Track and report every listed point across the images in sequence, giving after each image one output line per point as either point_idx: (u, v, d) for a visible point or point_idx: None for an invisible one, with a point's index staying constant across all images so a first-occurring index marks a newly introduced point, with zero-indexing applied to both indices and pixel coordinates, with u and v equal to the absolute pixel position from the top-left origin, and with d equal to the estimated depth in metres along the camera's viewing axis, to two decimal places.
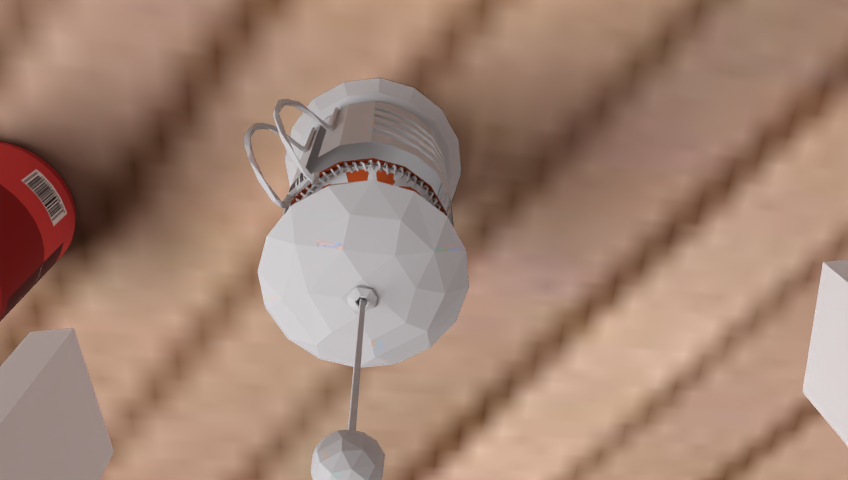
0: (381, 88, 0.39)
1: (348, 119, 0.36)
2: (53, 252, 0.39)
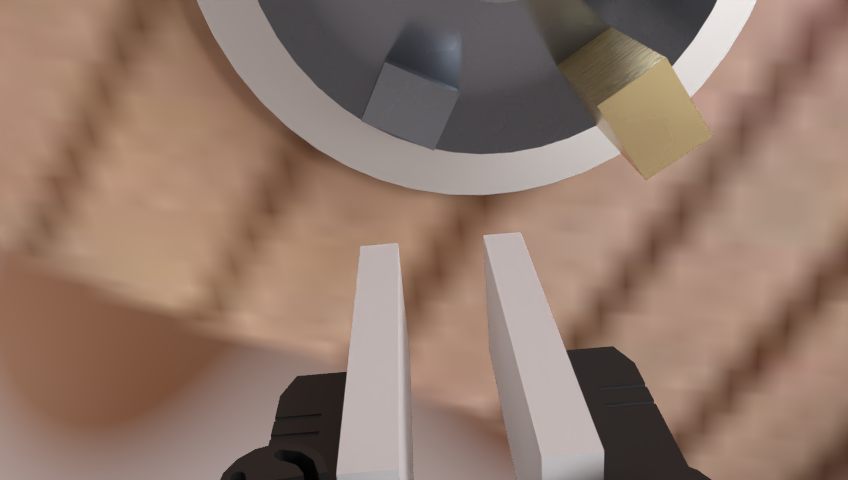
0: None
1: None
2: None
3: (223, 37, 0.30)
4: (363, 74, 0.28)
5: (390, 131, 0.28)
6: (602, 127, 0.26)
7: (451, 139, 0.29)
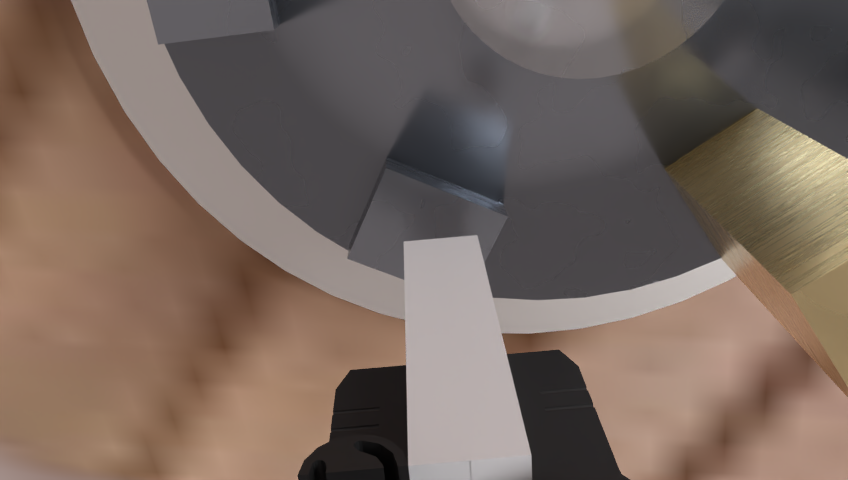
0: None
1: None
2: None
3: (139, 111, 0.20)
4: (351, 182, 0.17)
5: (394, 273, 0.17)
6: (752, 283, 0.16)
7: (491, 278, 0.18)
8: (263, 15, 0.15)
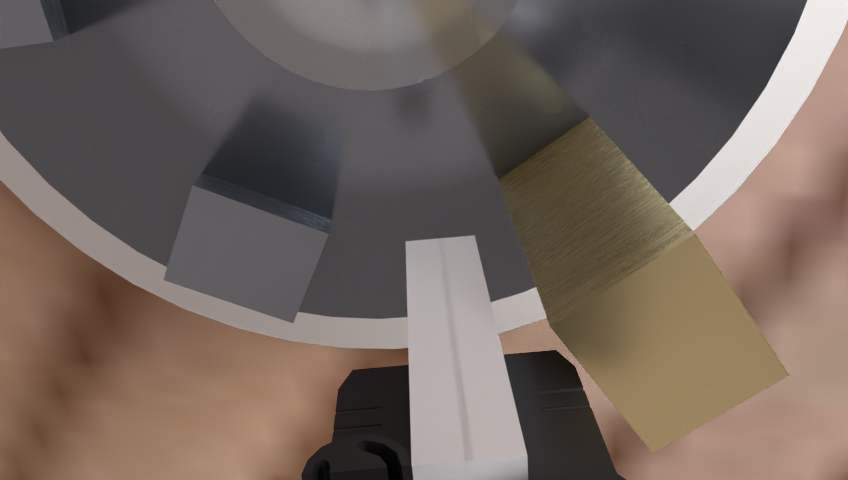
0: None
1: None
2: None
3: None
4: (167, 199, 0.16)
5: (216, 295, 0.16)
6: None
7: (327, 297, 0.17)
8: (39, 26, 0.14)
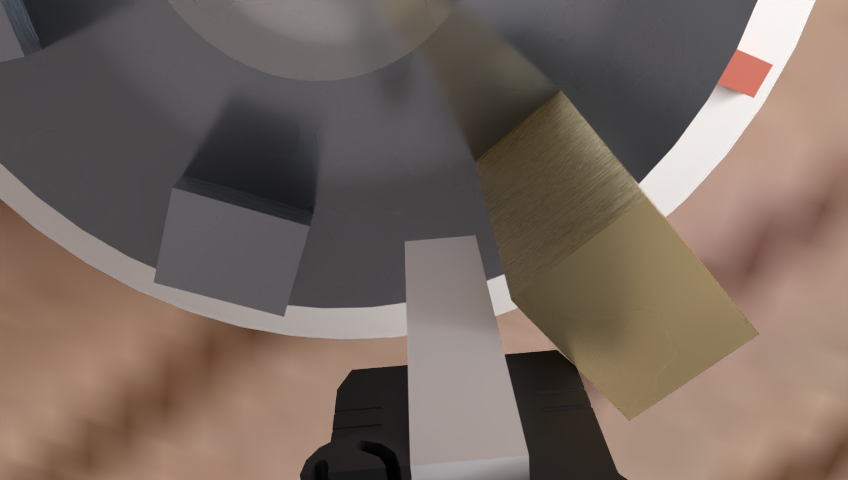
0: None
1: None
2: None
3: None
4: (152, 203, 0.17)
5: (206, 293, 0.17)
6: None
7: (317, 289, 0.18)
8: (9, 43, 0.14)
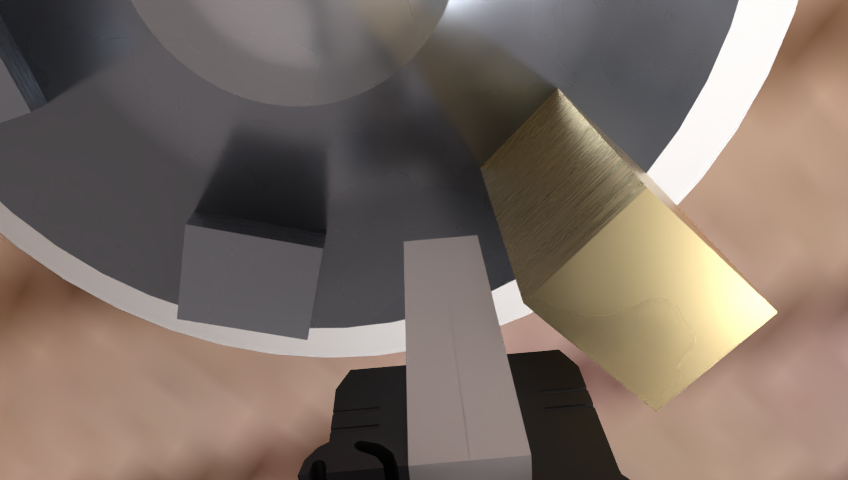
0: None
1: None
2: None
3: None
4: (168, 241, 0.17)
5: (229, 324, 0.17)
6: None
7: (337, 309, 0.18)
8: (15, 100, 0.15)
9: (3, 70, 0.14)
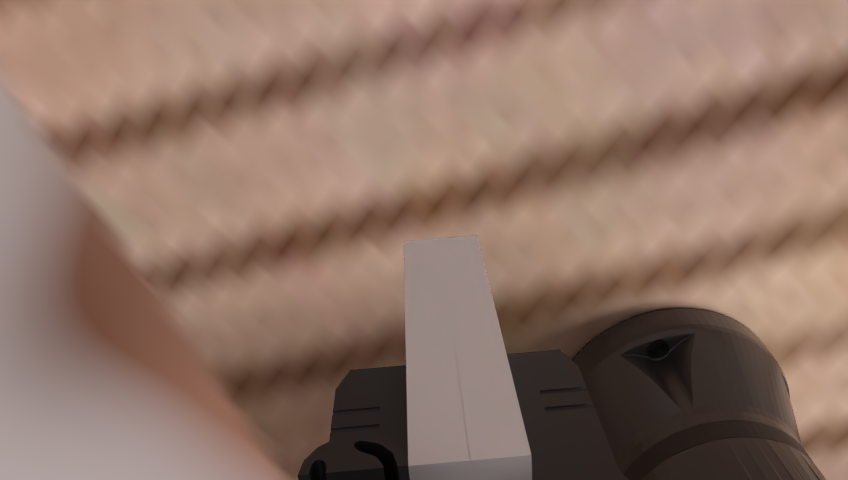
0: None
1: None
2: None
3: None
4: None
5: None
6: None
7: None
8: None
9: None
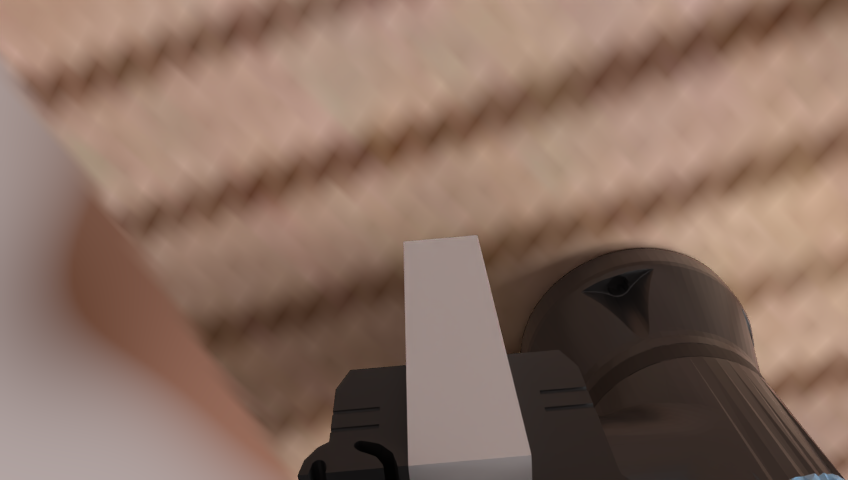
0: None
1: None
2: None
3: None
4: None
5: None
6: None
7: None
8: None
9: None
